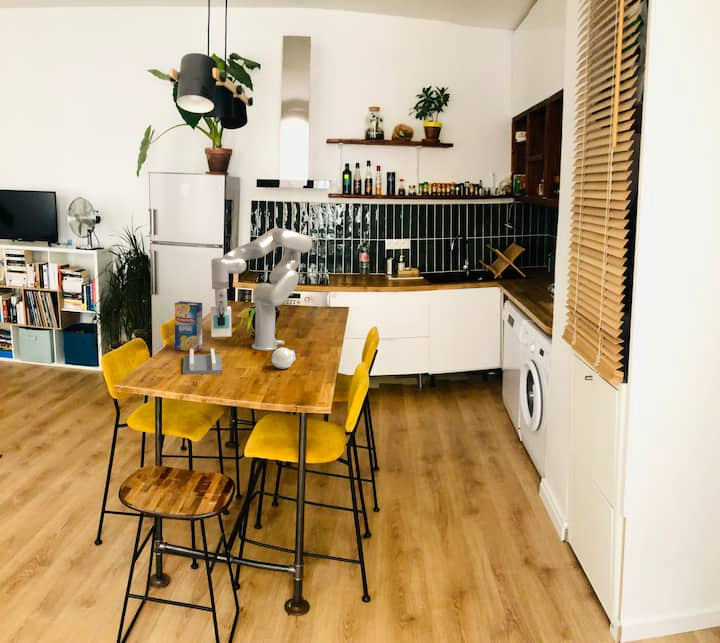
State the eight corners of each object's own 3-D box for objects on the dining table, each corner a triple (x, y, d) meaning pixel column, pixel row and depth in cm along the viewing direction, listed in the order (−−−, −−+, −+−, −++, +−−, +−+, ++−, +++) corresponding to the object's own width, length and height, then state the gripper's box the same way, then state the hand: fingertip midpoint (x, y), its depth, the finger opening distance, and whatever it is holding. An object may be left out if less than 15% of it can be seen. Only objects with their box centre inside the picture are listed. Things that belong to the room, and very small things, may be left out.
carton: (211, 334, 330) (210, 306, 327) (230, 333, 332) (230, 306, 329) (211, 337, 325) (210, 309, 322) (231, 336, 327) (231, 308, 324)
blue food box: (196, 351, 333) (196, 305, 329) (174, 349, 335) (174, 303, 331) (202, 348, 340) (202, 302, 336) (180, 346, 342) (180, 301, 338)
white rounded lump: (274, 374, 305) (287, 370, 320) (292, 363, 303) (304, 359, 317) (264, 355, 306) (277, 352, 321) (282, 344, 304) (294, 341, 318)
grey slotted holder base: (220, 358, 323) (220, 348, 322) (222, 373, 298) (222, 363, 297) (183, 358, 319) (183, 348, 318) (183, 374, 294) (183, 363, 293)
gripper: (229, 288, 316) (230, 328, 320) (227, 282, 332) (228, 320, 336) (212, 288, 314) (213, 328, 318) (211, 282, 331) (212, 320, 334)
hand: (221, 323), depth 327 cm, fingers closed on carton, 5 cm apart
